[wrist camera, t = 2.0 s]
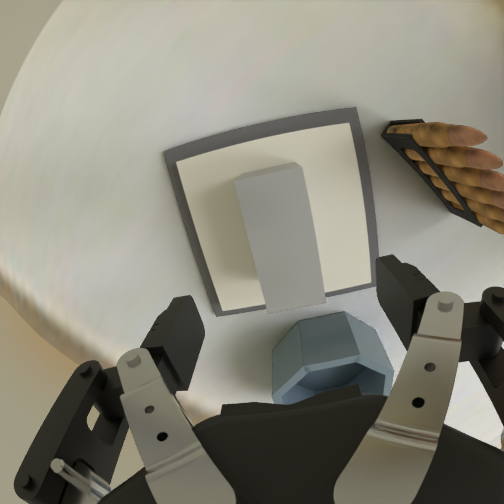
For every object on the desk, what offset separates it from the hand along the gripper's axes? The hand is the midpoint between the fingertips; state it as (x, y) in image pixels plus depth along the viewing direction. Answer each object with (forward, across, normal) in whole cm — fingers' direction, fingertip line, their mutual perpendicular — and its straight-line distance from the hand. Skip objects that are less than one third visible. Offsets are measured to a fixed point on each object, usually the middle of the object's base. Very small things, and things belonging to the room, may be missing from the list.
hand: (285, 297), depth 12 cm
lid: (+12, 0, 0) cm, 12 cm away
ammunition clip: (+13, -14, -2) cm, 19 cm away
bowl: (+12, -2, +16) cm, 20 cm away
